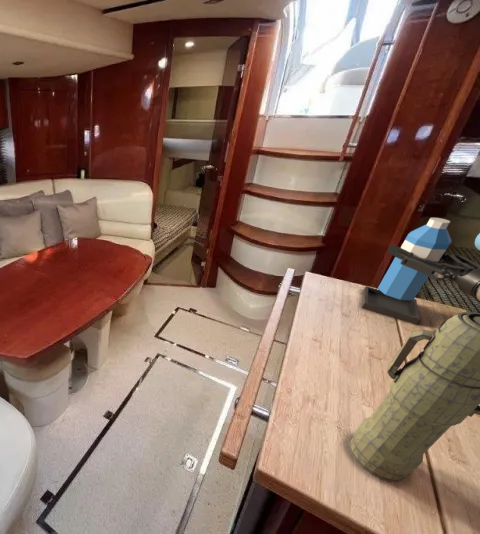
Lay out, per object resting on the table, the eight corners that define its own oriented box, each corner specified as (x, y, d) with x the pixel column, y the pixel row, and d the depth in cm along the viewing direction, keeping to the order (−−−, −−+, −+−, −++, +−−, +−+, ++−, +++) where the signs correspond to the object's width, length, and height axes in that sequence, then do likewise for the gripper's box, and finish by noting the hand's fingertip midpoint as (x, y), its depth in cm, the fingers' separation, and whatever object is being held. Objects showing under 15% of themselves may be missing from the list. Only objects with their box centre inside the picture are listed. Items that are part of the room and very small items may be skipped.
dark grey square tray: (413, 304, 102) (416, 299, 101) (416, 324, 94) (419, 319, 93) (363, 290, 110) (365, 285, 109) (361, 308, 101) (364, 303, 100)
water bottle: (374, 281, 104) (412, 212, 92) (411, 289, 100) (456, 217, 88) (380, 295, 98) (423, 222, 85) (420, 304, 93) (470, 228, 81)
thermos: (339, 424, 67) (427, 293, 49) (413, 459, 60) (545, 323, 43) (336, 456, 61) (435, 322, 43) (418, 499, 54) (573, 361, 37)
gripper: (439, 301, 78) (365, 259, 97) (522, 297, 78) (432, 257, 98) (457, 276, 74) (376, 238, 94) (544, 273, 75) (445, 235, 94)
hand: (405, 247), depth 96 cm, fingers closed on water bottle, 9 cm apart
